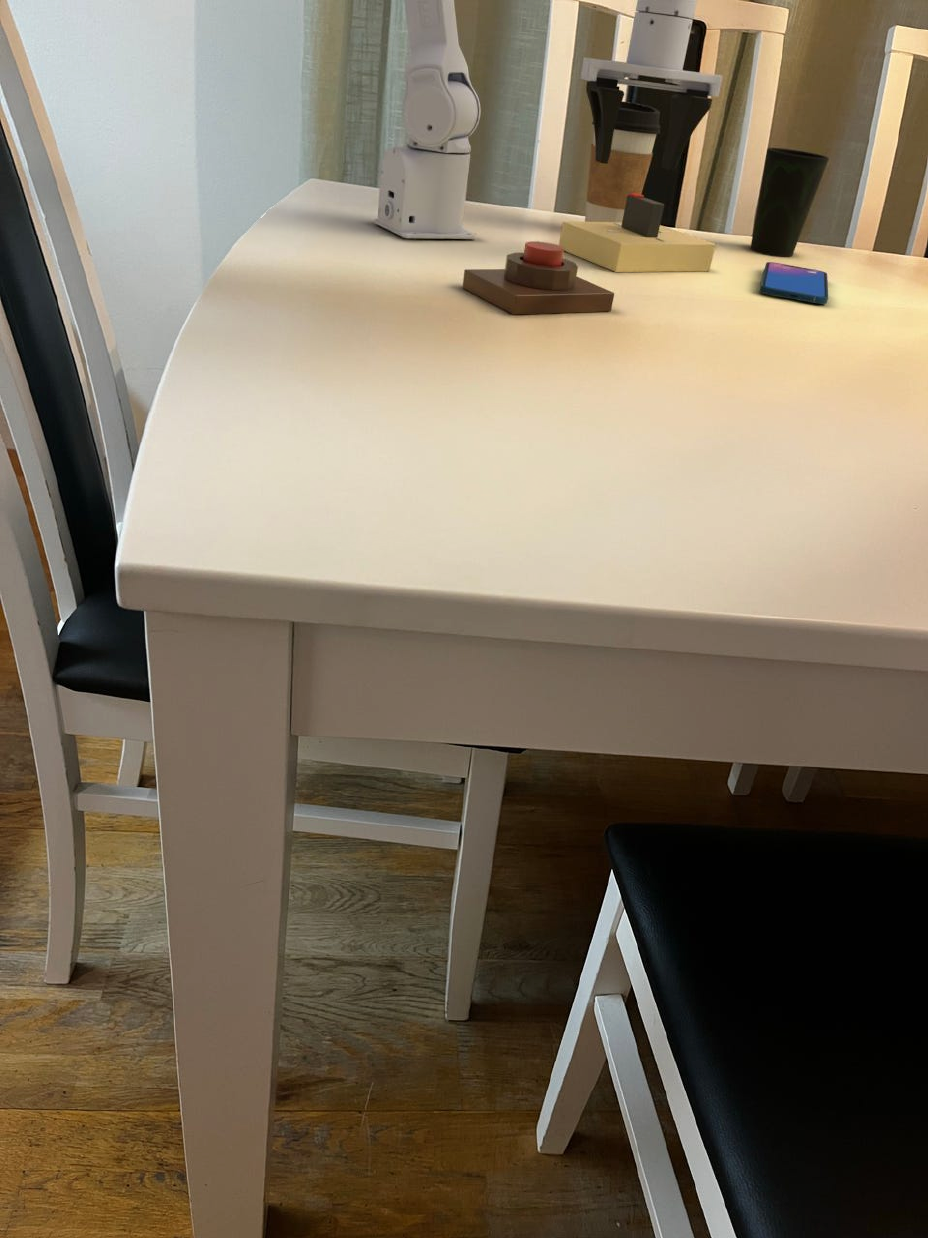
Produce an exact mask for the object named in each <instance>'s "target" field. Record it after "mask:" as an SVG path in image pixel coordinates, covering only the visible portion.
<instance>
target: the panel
mask: <svg viewBox="0 0 928 1238" xmlns="http://www.w3.org/2000/svg"><path fill="white" fill-rule="evenodd" d="M621 225H622V223H621V222H585V221H574V220H573V221H571V220H569V221H568V220H566V221H565V220H563V221H562V224H561V230H560V236H559V241H558V245H559V246H561V247H563V248H564V252H567V253H569V254H572V255H573V256H577V257H579V258H581V259H583V260H585V261H588V262H591V263H593V264H595V265H598V266H600V267H603V268H604V269H608V270H610V271H613V272H615V273H641V272H642V273H651V272H652V273H653V272H654V273H657V272H658V273H659V272H662V273H663V272H665V273H666V272H710V270H711V266H712V262H713V258H714V254H715V250H716V246H717V244H716V243H714V242H711V241H708V240H705V239H703V238H699V237H696V236H693V235H690V234H687V233H684V232H682V231H679V230H676V229H673V228H670V227H668V226H664V225H661V224H660V228H659V233H658V237H646V236H643V235H640V234H638V233H635V232H633V231H630V230H627V229H625V228H622V227H621Z"/></svg>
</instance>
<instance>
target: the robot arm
mask: <svg viewBox="0 0 928 1238" xmlns="http://www.w3.org/2000/svg"><path fill="white" fill-rule="evenodd" d="M403 3H404V11H405V18H406V26H407V33H408V41H409V48H410V51H409V56H408V59H407V62H406V65H405V68H404V71H403V73H404V74H403V75H404V82H405V90H404V91H405V92H404V96H403V99H402V103H401V110H400V111H401V113H400V114H401V122H402V125H403V127H404V130H405V132H406V134H407V135H408V136H407V137H406V143H405V144H406V145H403V146H392V147H389V148H388V149H387V150H386V151H385V153H384V154H383V158H382V161H381V166H380V176H379V177H380V178H379V193H378V206H377V218H375V219H374V220H373V221H374V222H373V223H374V224H376V225H378V227H379V226H380V227H381V228H384V229H385V230H387V231H389V232H392V233H393V234H396V235H397V236H399V237H401V238H404V239H443V240H445V239H447V240H449V239H451V240H452V239H453V240H454V239H455V240H456V239H457V240H459V239H461V240H476V239H477V234H476V233H474V232H471V231H469V230H467V229H464V228H463V226H464V215H465V207H466V200H467V199H466V198H467V190H468V189H467V188H468V182H469V181H468V180H469V170H470V161H471V152H472V146H471V144H470V141H469V137H470V136H471V135H473V133H475V131H476V129H477V127H478V126H479V122H480V119H481V113H482V112H481V111H482V110H481V102H480V99H479V96H478V94H477V92H476V90H475V89H474V87H473V86H472V85H473V84H472V83H471V79H470V74H469V67H468V64H467V61H466V58H465V56H464V54H463V51H462V49H461V47H460V44H459V34H458V25H457V17H456V8H455V0H403ZM697 3H698V0H637V1H636V5H635V6H636V7H635V12H634V17H633V23H632V29H631V34H630V39H629V45H628V46H629V47H628V51H627V56H626V61H617V60H610V59H601V58H593V57H586V56H584V57H583V62H582V67H581V74H580V79H581V80H584V81H586V86H585V90H586V95H587V99H588V103H589V106H590V112H591V116H592V122H594V125H593V129H594V131H595V147H596V154H595V161H598V162H600V163H604V164H608V160H609V157H610V152H611V146H612V139H613V133H614V127H615V123H616V120H617V116H618V112H619V109H620V106H621V103H622V102H623V100H624V97H625V92H624V90H622V89H620V86H618V85H624V86H633V87H640V88H648V89H655V90H663V91H671V92H680V93H678V94H672V95H671V96H670V97H671V98H670V112H669V113H670V115H669V124H668V131H667V132H668V133H667V136H666V141H665V144H664V146H665V147H664V149H663V155H662V161H661V168H663V169H664V170H667V171H671V172H675V171H676V168H677V166H678V163H679V160H680V159H681V156H682V154H683V152H684V150H685V148H686V146H687V143H688V142H689V140H690V138H691V136H692V135H693V134H694V131H695V130H696V129H697V126H699V124H700V123H701V121H702V120H703V119H704V117H705V116H706V114H708V112H709V111H710V110H711V106H712V104H713V98H714V97H715V98H718V97H719V95H720V91H721V86H722V82H723V77H724V76H723V75H718V74H713V73H706V72H699V71H691V70H684V65H685V60H686V54H687V50H688V46H689V45H688V44H689V41H690V35H691V31H692V25H693V21H694V17H695V12H696V7H697ZM639 76H644V77H652V78H659V79H665V81H664V82H666V83H659V82H651V81H643V80H636V79H638V78H639ZM628 78H629V79H628ZM668 83H669V84H668ZM670 83H671V84H670ZM710 97H713V98H710ZM594 131H593V132H594Z"/></svg>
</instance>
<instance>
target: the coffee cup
mask: <svg viewBox="0 0 928 1238" xmlns="http://www.w3.org/2000/svg"><path fill="white" fill-rule="evenodd" d="M660 113H661V112H660V111H659V110H658V109H657V108H655V107H653V106H650V105H646V104H642V103H636V102H629V101H622V103H621V106H620V109H619V112H618V116H617V120H616V123H615V127H614V133H613V139H612V146H611V152H610V157H609V160H608V164H604V163H600V162H598V161H595V154H596V147H595V131H593V141H592V143H591V144H590V155H589V165H588V166H589V168H588V179H587V189H586V190H587V191H586V205H585V214H584V215H585V217H584V222H621V223H622V220H623V215H624V210H625V205H626V199H627V195H629V194H630V193H637V194H641V195H643V194H642V193H643V190H644V187H645V183H646V179H647V177H648V173H649V168H650V166H651V162H652V158H653V156H654V152H653V149H654V145H655V141H656V138H657V135H660V134H661V126H660ZM591 124H592V125H593V126H594V122H593V121H592V123H591Z"/></svg>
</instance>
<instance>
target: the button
mask: <svg viewBox="0 0 928 1238" xmlns="http://www.w3.org/2000/svg"><path fill="white" fill-rule="evenodd" d="M564 252H565V251H564V248H563V247H561V246H559V244H555V243H552V242H545V241H535V240H534V241H526V242H525V243H524V247H523V253H524V254H523V261H524V262H526V263H530V264H534V265H540V266H548V267H561V265H562V258H564Z"/></svg>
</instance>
